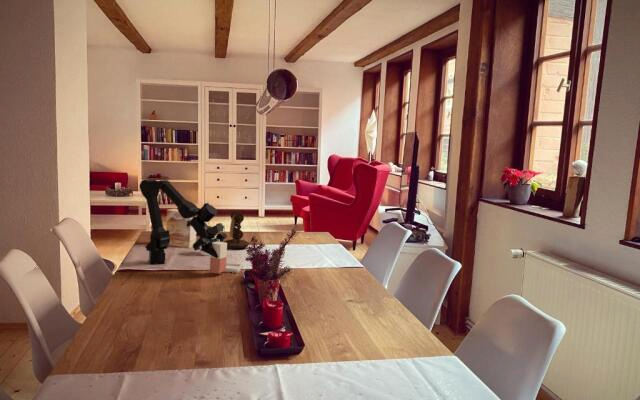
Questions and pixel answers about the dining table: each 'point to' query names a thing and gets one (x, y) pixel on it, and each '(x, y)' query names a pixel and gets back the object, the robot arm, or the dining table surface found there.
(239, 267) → the white tray
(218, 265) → the two tone block
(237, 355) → the dining table surface
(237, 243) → the dark lumpy post
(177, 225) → the coffeecake box
